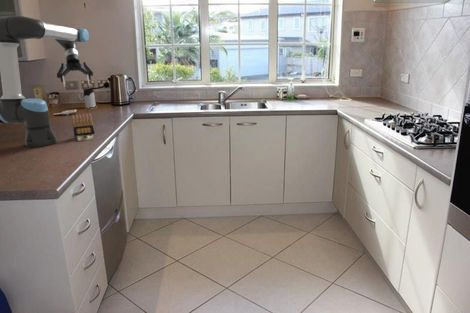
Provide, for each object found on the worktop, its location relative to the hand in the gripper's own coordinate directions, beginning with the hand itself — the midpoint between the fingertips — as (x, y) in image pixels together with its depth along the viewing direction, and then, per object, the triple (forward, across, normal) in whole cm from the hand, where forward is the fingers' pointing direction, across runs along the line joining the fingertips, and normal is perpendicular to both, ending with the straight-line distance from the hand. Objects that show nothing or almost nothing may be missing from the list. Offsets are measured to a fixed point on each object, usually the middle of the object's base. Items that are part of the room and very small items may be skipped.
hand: (76, 85), depth 228 cm
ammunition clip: (+34, 0, -2) cm, 34 cm away
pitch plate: (+35, 0, -2) cm, 35 cm away
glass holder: (-42, -6, -82) cm, 92 cm away
